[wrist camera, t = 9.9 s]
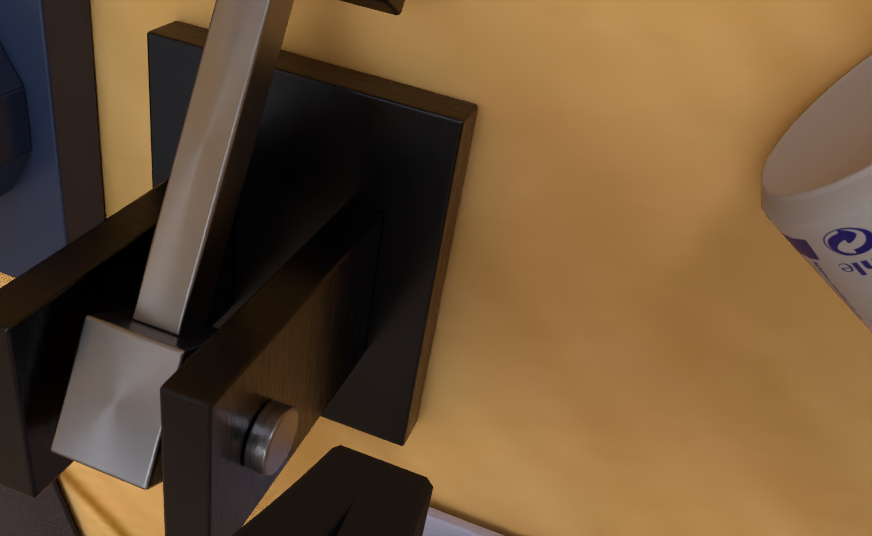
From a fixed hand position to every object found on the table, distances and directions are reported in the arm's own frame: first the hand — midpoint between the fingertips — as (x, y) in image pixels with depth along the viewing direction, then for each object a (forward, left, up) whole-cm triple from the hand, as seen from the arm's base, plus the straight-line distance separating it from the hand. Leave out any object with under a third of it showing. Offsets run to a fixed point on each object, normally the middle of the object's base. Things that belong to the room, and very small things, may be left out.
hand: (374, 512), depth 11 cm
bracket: (-3, +6, -10) cm, 12 cm away
